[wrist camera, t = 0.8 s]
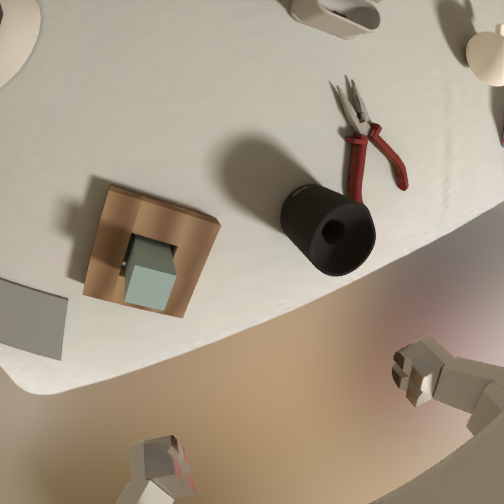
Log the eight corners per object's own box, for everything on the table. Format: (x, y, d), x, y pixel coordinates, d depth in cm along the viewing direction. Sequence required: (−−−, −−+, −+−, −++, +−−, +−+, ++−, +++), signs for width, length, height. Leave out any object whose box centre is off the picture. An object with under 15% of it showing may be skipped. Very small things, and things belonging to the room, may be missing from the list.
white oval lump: (454, 80, 45) (482, 65, 46) (505, 103, 37) (526, 85, 39) (452, 22, 35) (481, 16, 37) (509, 40, 28) (529, 33, 29)
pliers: (368, 70, 38) (380, 70, 36) (402, 184, 49) (413, 189, 47) (306, 97, 38) (316, 97, 36) (352, 218, 48) (361, 224, 46)
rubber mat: (-5, 339, 36) (-6, 341, 36) (-6, 276, 33) (-7, 277, 33) (61, 359, 42) (60, 360, 41) (68, 298, 38) (67, 300, 38)
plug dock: (84, 284, 38) (82, 294, 36) (111, 185, 34) (108, 190, 32) (180, 307, 45) (182, 318, 42) (216, 218, 41) (221, 225, 39)
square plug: (126, 262, 39) (124, 301, 31) (135, 231, 38) (135, 264, 30) (158, 271, 41) (164, 310, 33) (168, 241, 40) (176, 275, 32)
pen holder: (341, 185, 45) (385, 207, 36) (326, 244, 48) (364, 275, 40) (284, 176, 41) (322, 197, 33) (270, 242, 45) (302, 277, 36)
